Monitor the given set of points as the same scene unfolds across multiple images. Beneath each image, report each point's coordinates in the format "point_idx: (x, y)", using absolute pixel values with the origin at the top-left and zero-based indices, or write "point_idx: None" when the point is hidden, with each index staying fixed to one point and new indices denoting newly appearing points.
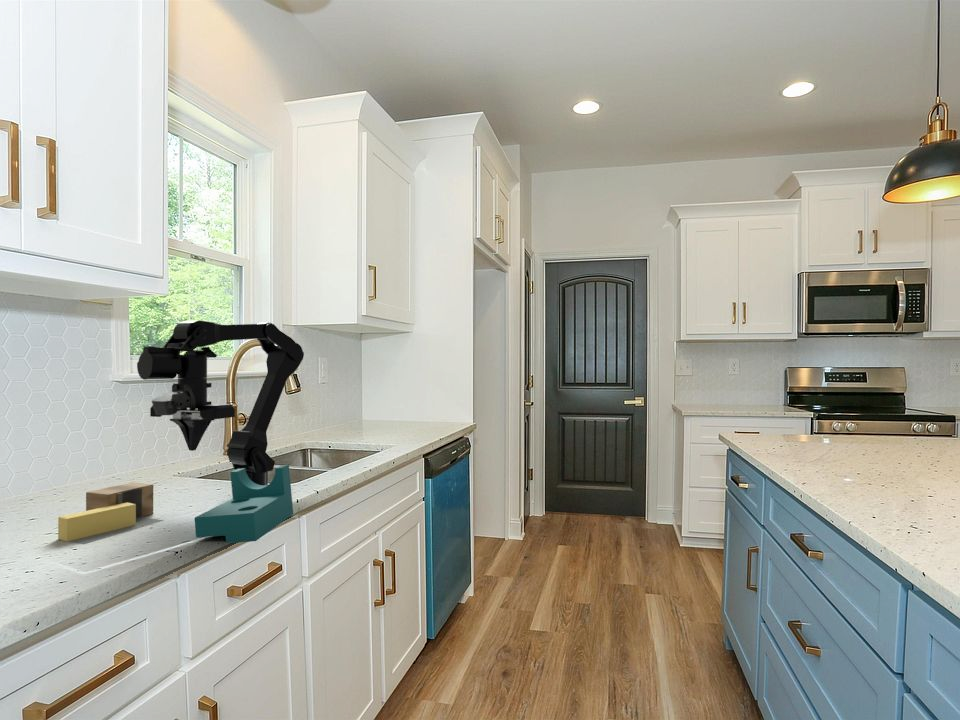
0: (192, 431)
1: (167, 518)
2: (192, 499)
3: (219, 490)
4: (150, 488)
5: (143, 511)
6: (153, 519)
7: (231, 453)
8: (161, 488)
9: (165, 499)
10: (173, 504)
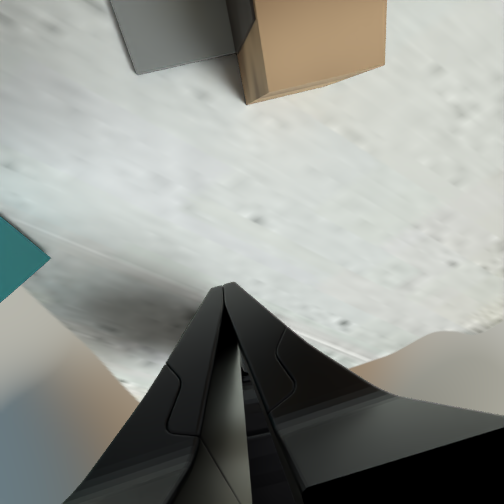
0: (142, 410)
1: (178, 110)
2: (314, 253)
3: (333, 320)
4: (263, 79)
5: (241, 60)
6: (172, 58)
7: (258, 408)
8: (460, 257)
9: (371, 216)
10: (311, 203)
